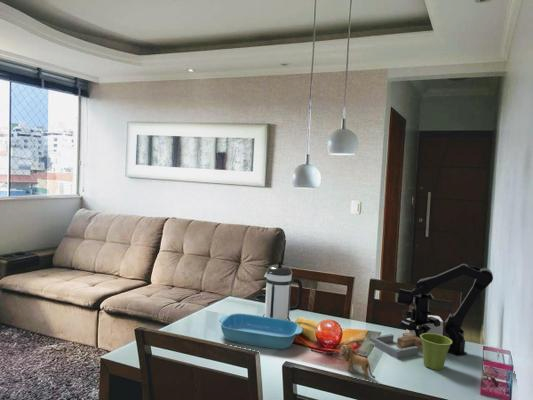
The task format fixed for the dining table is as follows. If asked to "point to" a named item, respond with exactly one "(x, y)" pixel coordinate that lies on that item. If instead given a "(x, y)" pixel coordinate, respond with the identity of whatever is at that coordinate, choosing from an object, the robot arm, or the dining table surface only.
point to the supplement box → (433, 329)
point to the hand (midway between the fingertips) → (419, 342)
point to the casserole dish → (259, 330)
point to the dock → (390, 350)
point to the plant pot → (435, 350)
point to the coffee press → (280, 292)
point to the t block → (409, 341)
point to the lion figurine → (355, 359)
